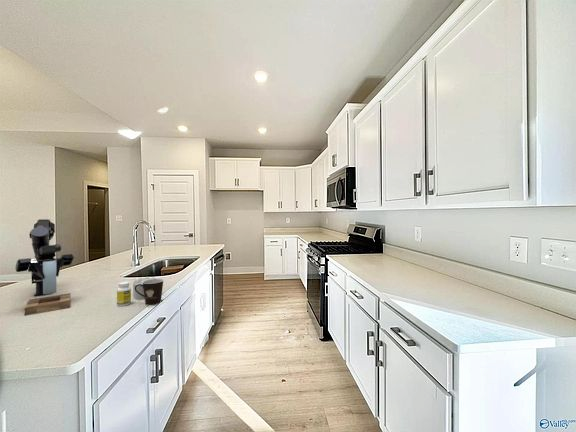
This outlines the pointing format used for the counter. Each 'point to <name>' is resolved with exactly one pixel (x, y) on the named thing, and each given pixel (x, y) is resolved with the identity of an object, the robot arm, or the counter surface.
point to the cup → (139, 288)
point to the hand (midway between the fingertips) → (50, 277)
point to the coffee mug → (152, 291)
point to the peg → (49, 277)
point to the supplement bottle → (123, 294)
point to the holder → (48, 304)
